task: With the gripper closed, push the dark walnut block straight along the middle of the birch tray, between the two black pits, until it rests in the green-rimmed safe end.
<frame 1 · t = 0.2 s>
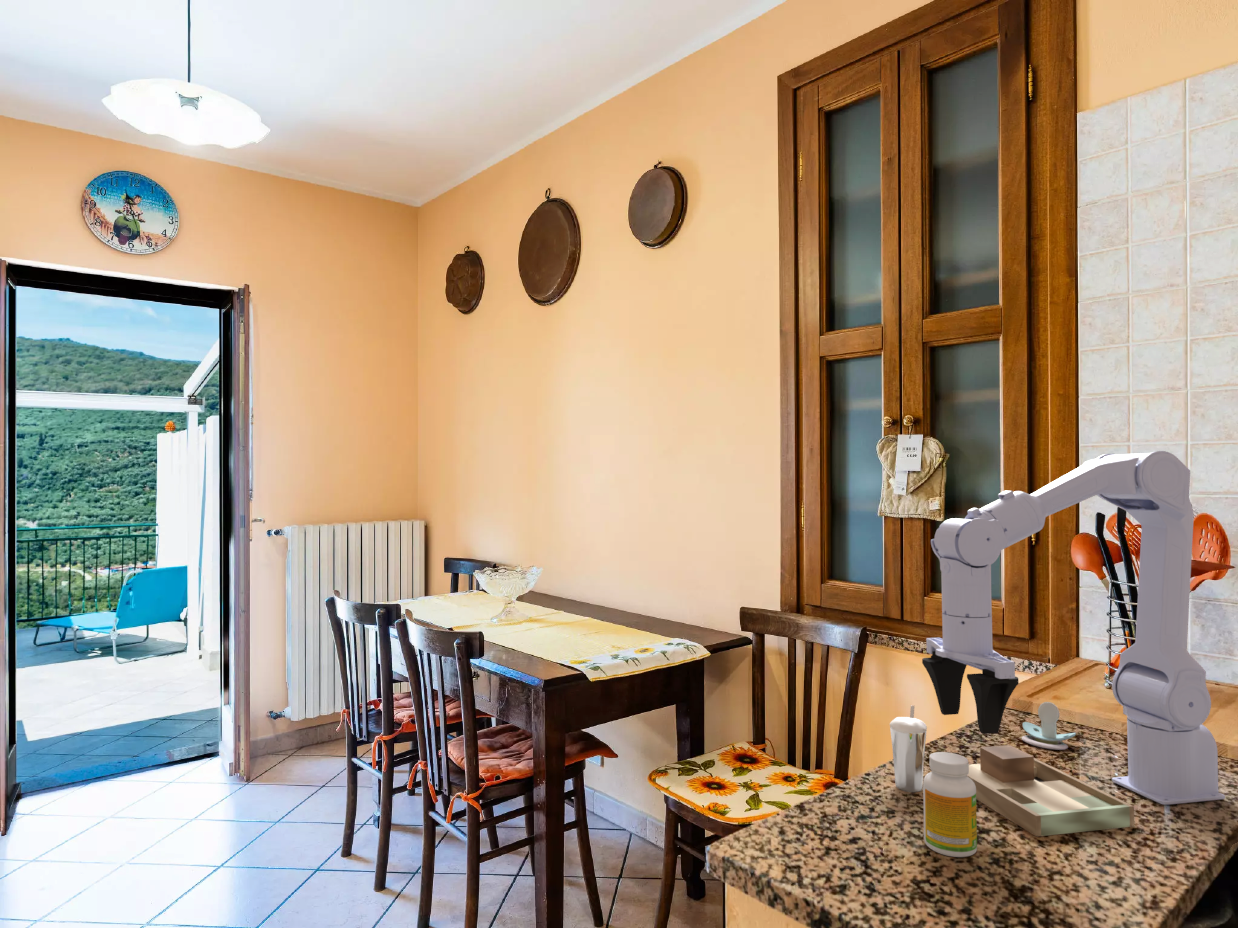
hand: (968, 722, 96), 10 cm above the worktop, tool pointing down, fingers open, 7 cm apart
milkshake: (909, 788, 101), on the worktop
pacifier: (1046, 745, 117), on the worktop
walnut block: (1006, 774, 101), point 1 cm above the worktop, touching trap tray
supplement bottle: (950, 848, 84), on the worktop
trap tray: (1030, 800, 96), on the worktop
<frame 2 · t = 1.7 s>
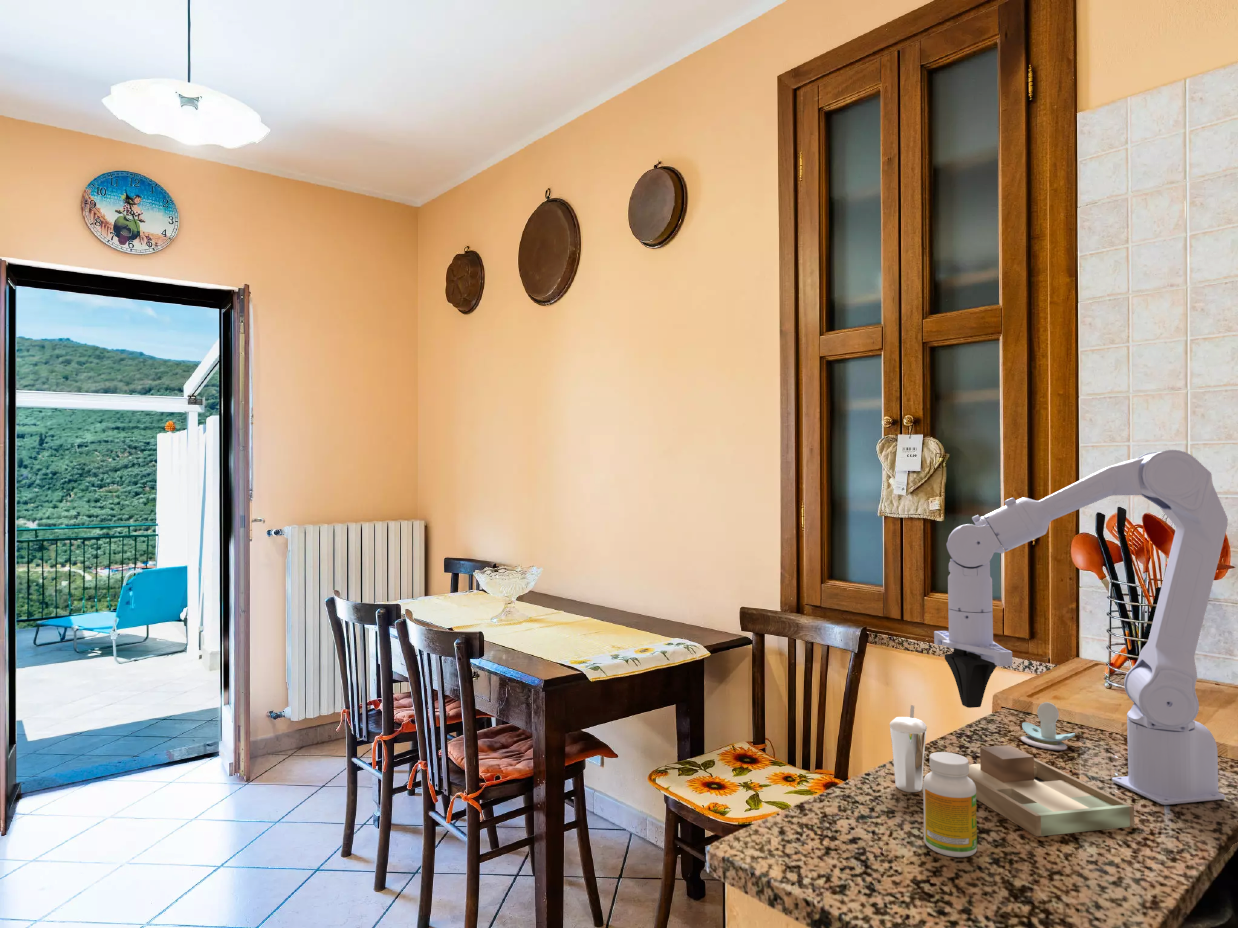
hand: (971, 706, 108), 9 cm above the worktop, tool pointing down, fingers closed
nothing on the worktop moved.
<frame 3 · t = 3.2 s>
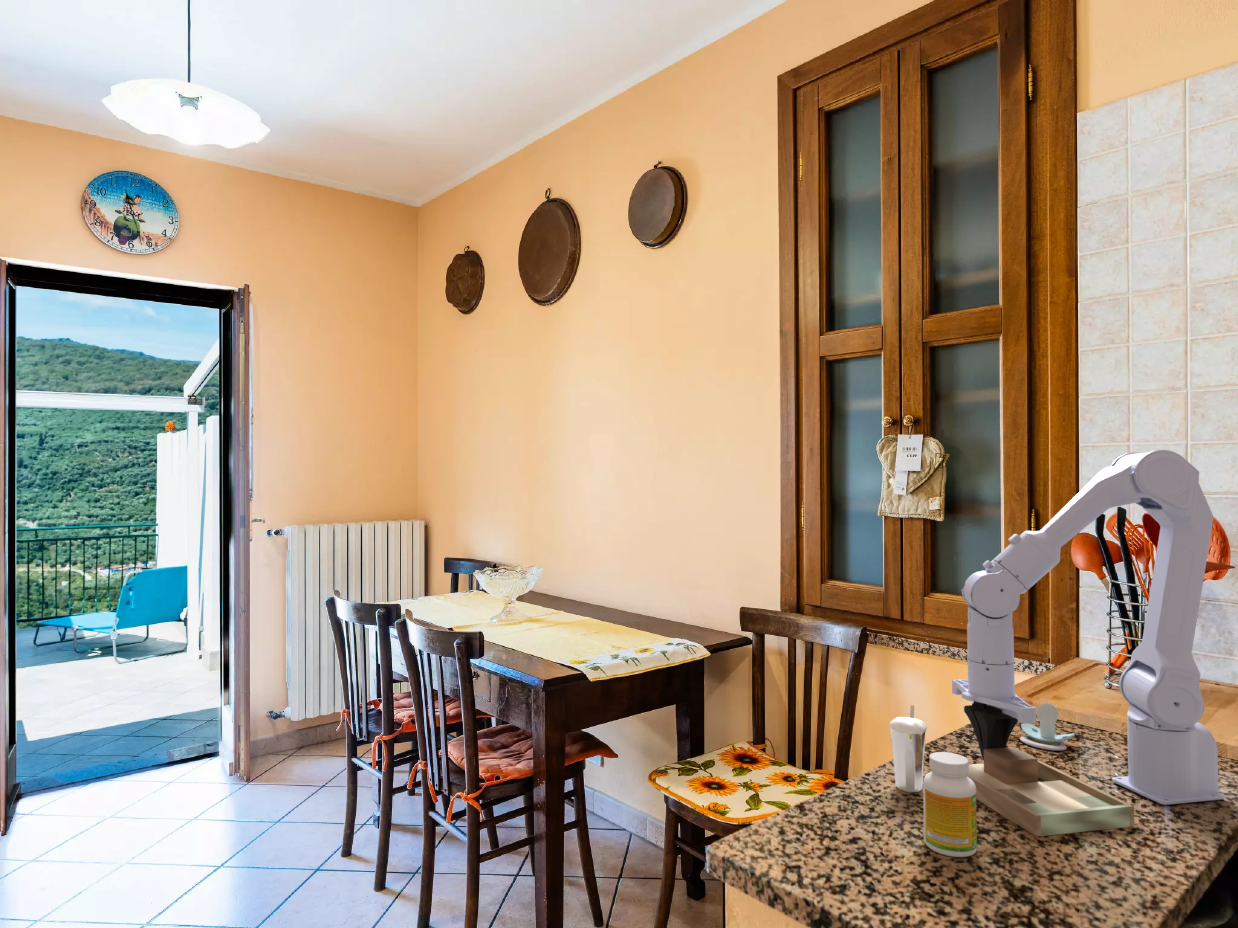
hand: (992, 760, 104), 2 cm above the worktop, tool pointing down, fingers closed
walnut block: (1010, 776, 100), point 1 cm above the worktop, touching gripper, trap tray
everything else where it was.
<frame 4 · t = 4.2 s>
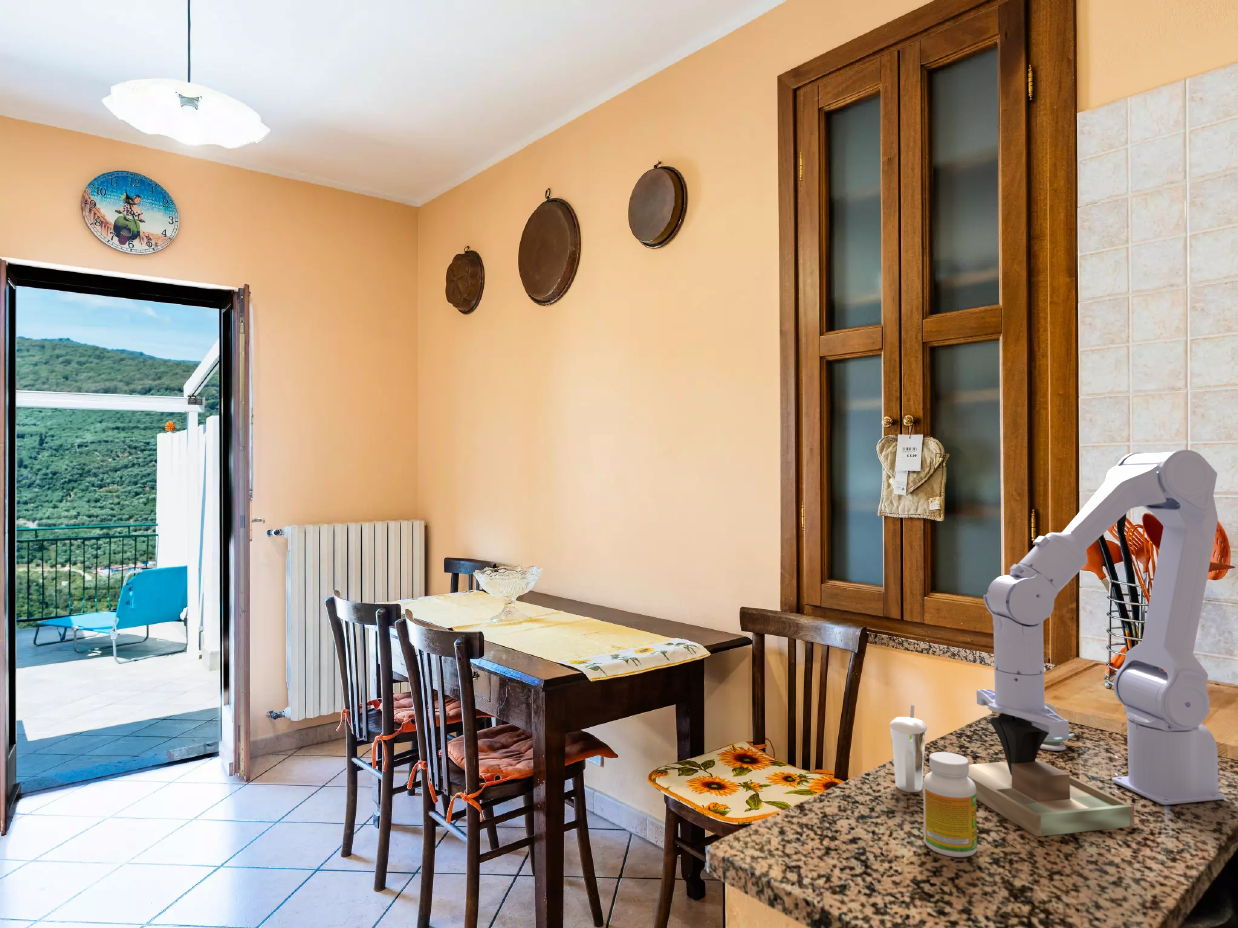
hand: (1020, 775, 98), 2 cm above the worktop, tool pointing down, fingers closed
walnut block: (1040, 793, 95), point 2 cm above the worktop, touching gripper, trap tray
everything else where it was.
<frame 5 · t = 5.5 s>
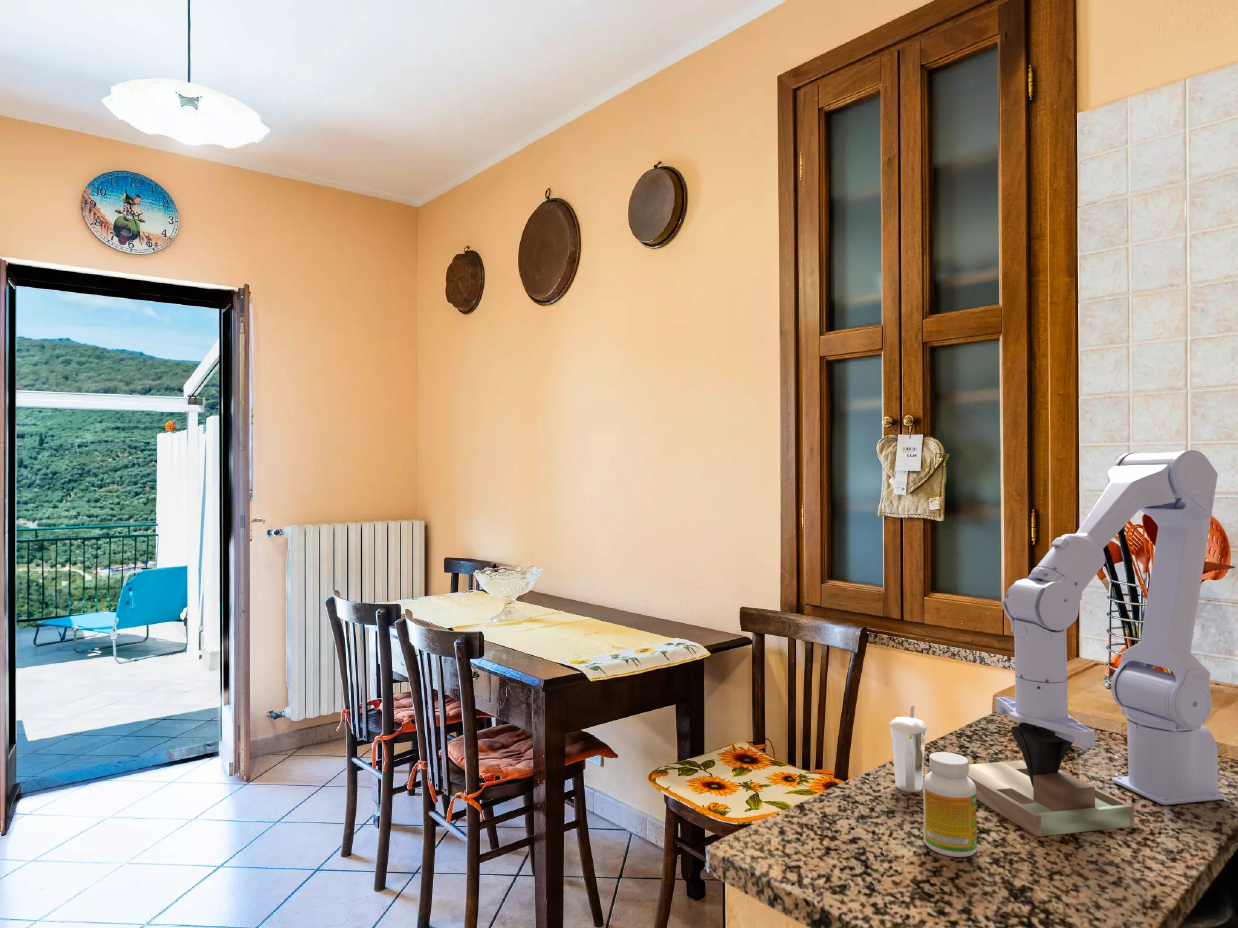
hand: (1042, 787, 95), 2 cm above the worktop, tool pointing down, fingers closed
walnut block: (1063, 806, 91), point 1 cm above the worktop, touching gripper, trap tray
everything else where it was.
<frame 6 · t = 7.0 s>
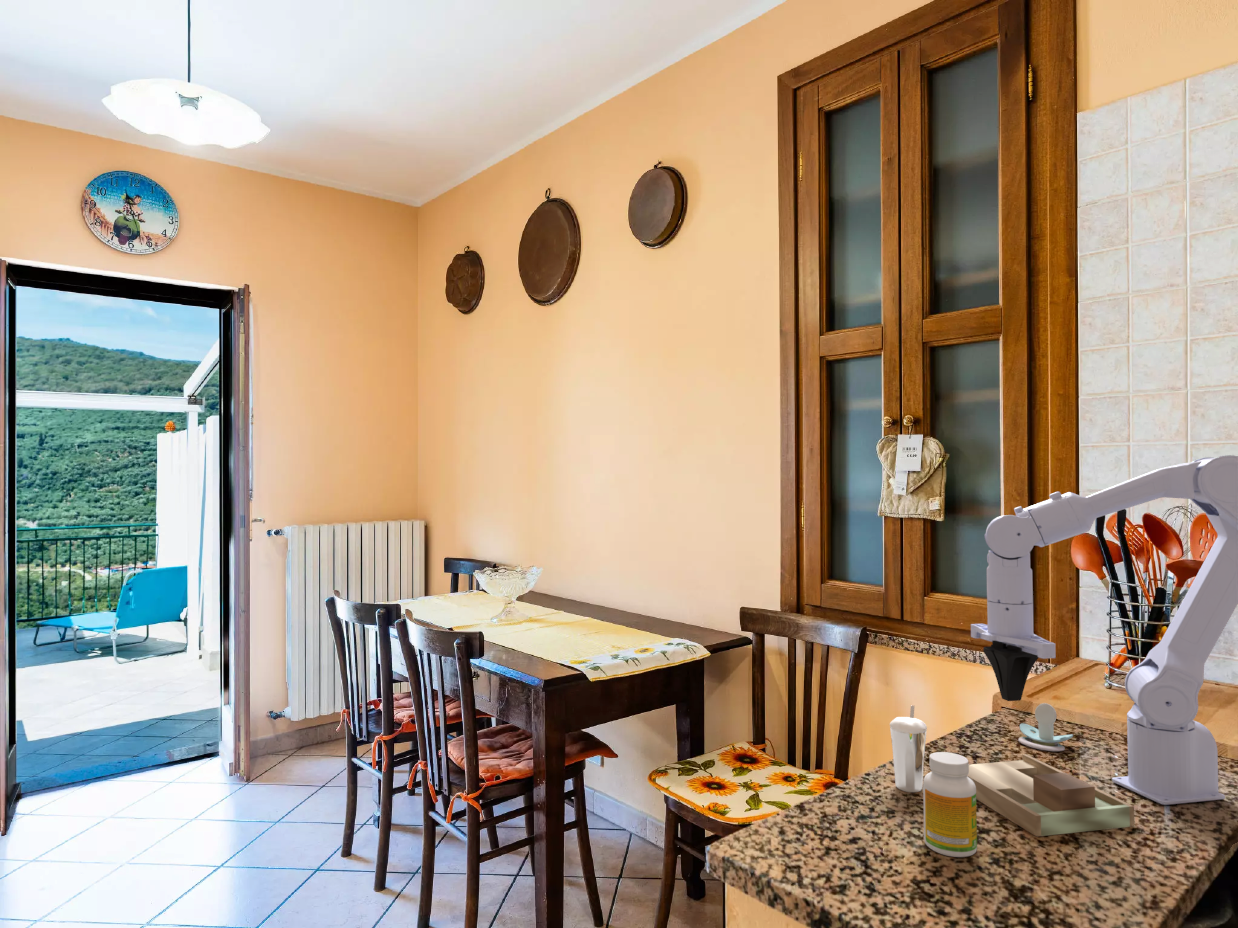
hand: (1011, 699, 106), 10 cm above the worktop, tool pointing down, fingers closed
walnut block: (1063, 806, 91), point 1 cm above the worktop, touching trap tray
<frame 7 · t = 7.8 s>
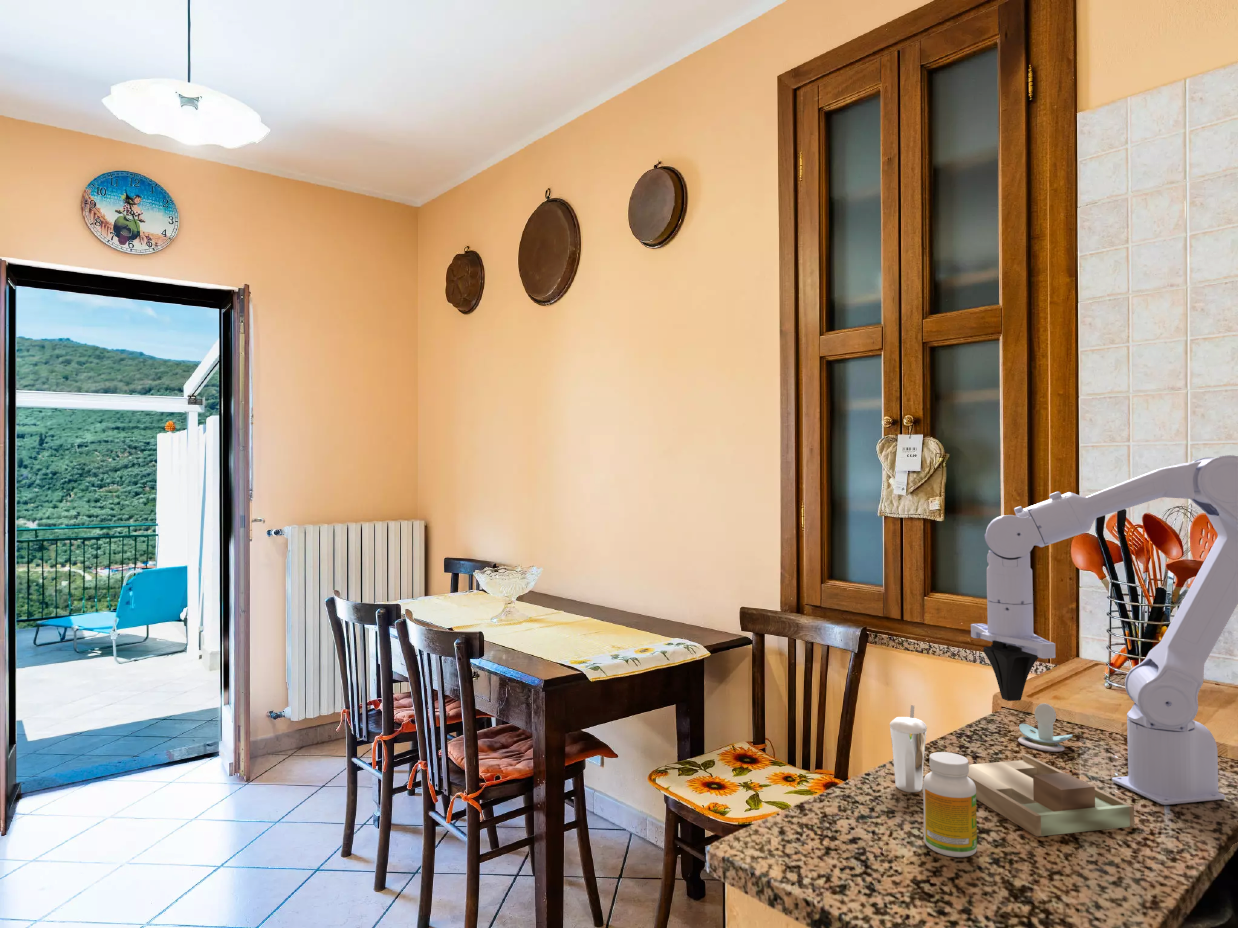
hand: (1011, 699, 106), 10 cm above the worktop, tool pointing down, fingers closed
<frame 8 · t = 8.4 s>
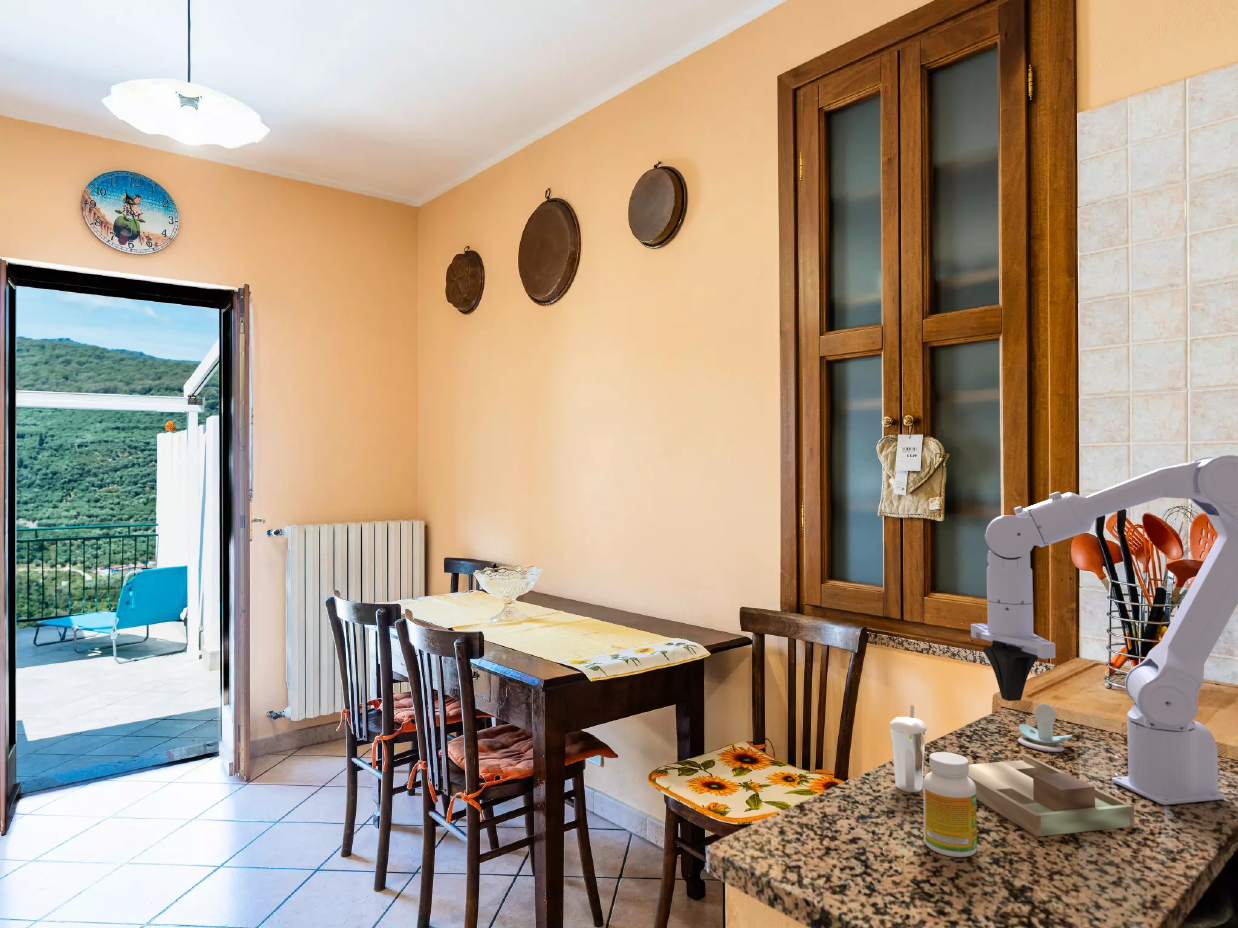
hand: (1011, 699, 106), 10 cm above the worktop, tool pointing down, fingers closed
at the end: walnut block 0.2 cm from the target spot, point 1.5 cm above the worktop; walnut block tilted 0° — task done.
